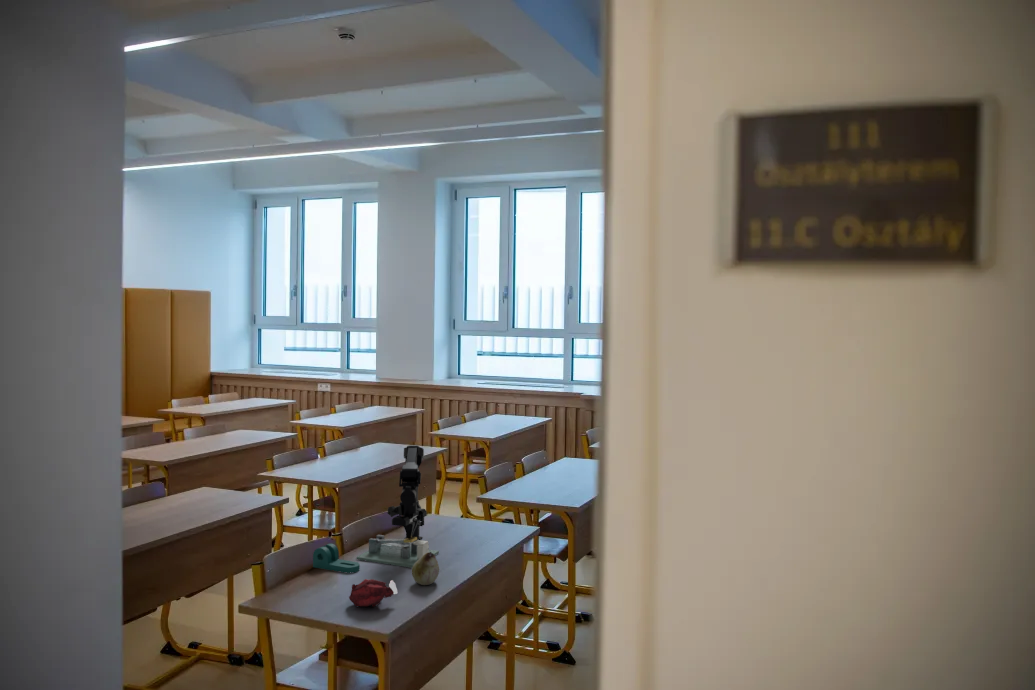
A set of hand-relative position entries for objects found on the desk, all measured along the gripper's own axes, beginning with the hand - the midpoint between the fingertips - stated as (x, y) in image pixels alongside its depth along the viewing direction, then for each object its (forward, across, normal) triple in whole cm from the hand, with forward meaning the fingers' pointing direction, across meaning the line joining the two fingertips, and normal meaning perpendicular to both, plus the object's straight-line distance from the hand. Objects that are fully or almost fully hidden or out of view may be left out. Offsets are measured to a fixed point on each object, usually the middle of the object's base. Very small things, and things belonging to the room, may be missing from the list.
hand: (409, 538), depth 290 cm
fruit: (+9, +23, +19) cm, 31 cm away
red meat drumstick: (+9, +49, +12) cm, 51 cm away
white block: (+7, 0, +5) cm, 8 cm away
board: (+8, 0, -5) cm, 9 cm away
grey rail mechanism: (+7, 0, -8) cm, 10 cm away
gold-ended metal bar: (+3, 0, -7) cm, 7 cm away
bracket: (+8, +21, -19) cm, 30 cm away
